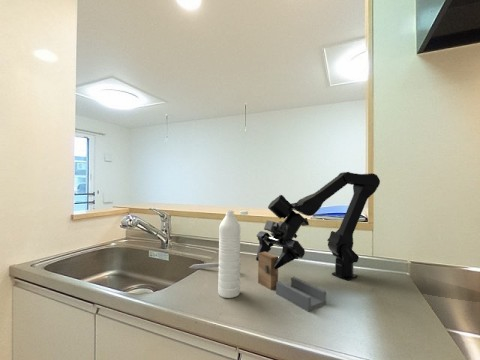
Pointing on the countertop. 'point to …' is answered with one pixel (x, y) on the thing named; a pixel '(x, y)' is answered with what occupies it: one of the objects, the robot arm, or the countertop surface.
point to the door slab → (267, 270)
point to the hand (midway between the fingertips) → (265, 264)
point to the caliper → (204, 265)
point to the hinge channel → (302, 294)
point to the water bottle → (229, 256)
